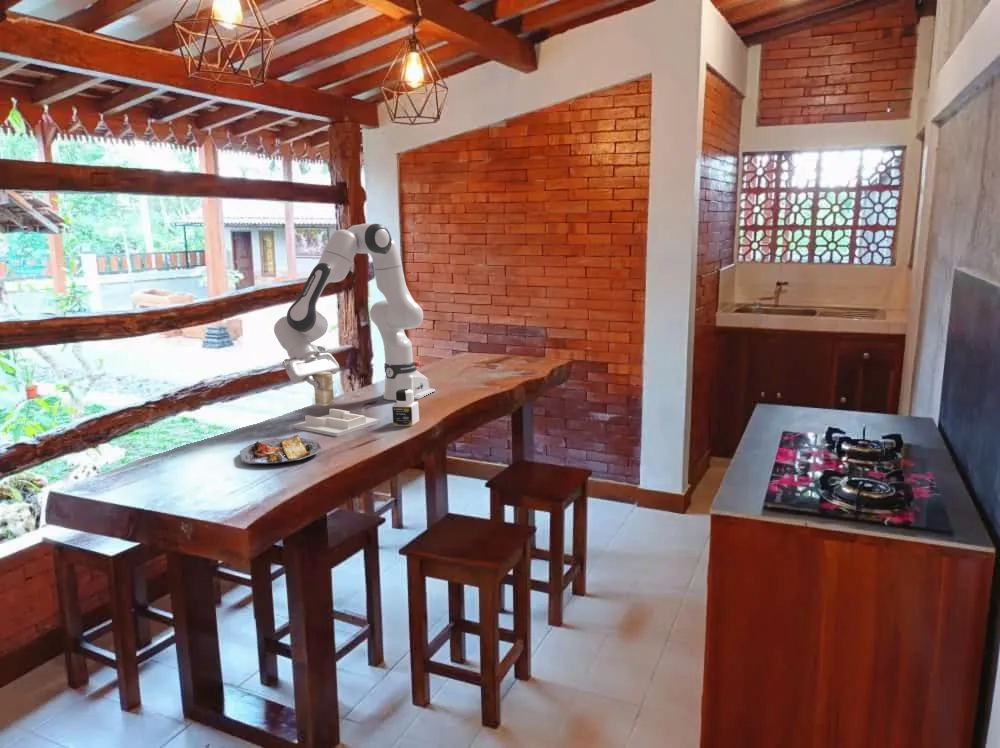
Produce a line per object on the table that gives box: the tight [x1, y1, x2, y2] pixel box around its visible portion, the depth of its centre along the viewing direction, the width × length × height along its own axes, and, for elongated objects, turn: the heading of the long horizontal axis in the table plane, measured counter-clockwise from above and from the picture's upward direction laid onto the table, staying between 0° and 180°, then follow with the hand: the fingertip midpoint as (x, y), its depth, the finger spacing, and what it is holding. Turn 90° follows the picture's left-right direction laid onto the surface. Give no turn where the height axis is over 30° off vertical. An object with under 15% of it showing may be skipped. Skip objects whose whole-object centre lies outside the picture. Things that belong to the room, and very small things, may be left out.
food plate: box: [239, 434, 321, 465], centre depth 225 cm, size 25×23×4 cm
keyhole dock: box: [292, 408, 381, 438], centre depth 257 cm, size 20×22×4 cm
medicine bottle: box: [392, 389, 420, 427], centre depth 256 cm, size 7×7×12 cm
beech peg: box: [313, 372, 335, 407], centre depth 258 cm, size 4×4×11 cm
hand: (324, 385), depth 258 cm, fingers closed on beech peg, 4 cm apart
